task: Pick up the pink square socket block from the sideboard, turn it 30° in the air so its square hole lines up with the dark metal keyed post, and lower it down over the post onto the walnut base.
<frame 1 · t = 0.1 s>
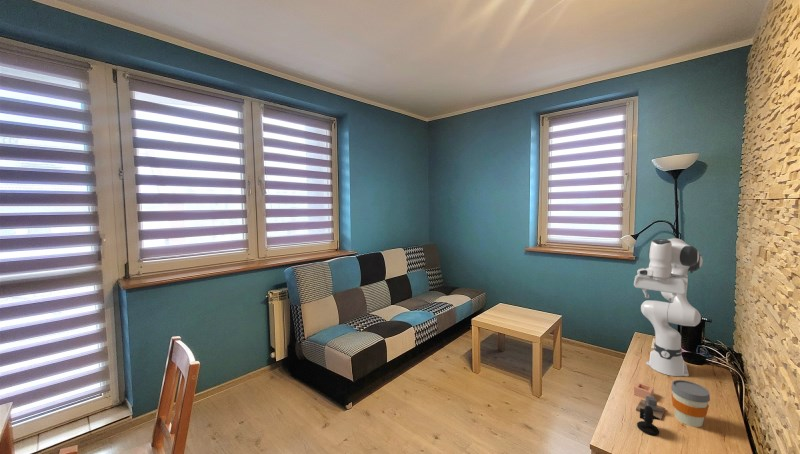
hand: (658, 299, 156), 48 cm above the sideboard, fingers open, 8 cm apart
webcam: (647, 429, 134), on the sideboard
pink square socket block: (643, 394, 158), on the sideboard
reusable coffee cup: (688, 420, 139), on the sideboard
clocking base: (650, 410, 146), on the sideboard
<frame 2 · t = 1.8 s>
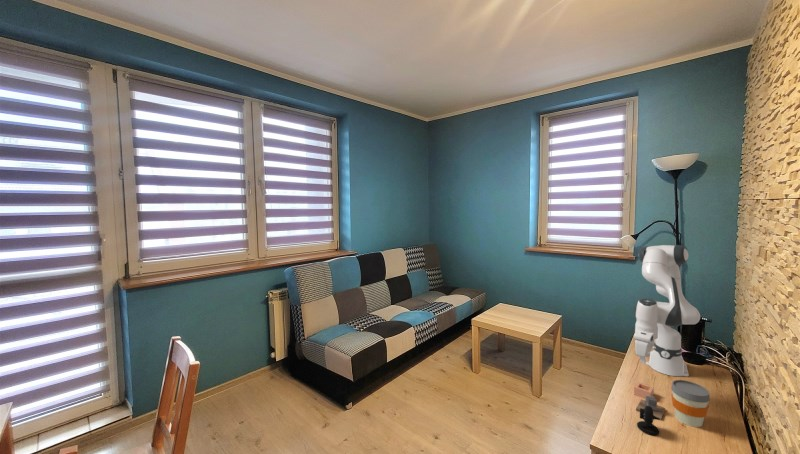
hand: (645, 359, 156), 18 cm above the sideboard, fingers open, 8 cm apart
nothing on the sideboard moved.
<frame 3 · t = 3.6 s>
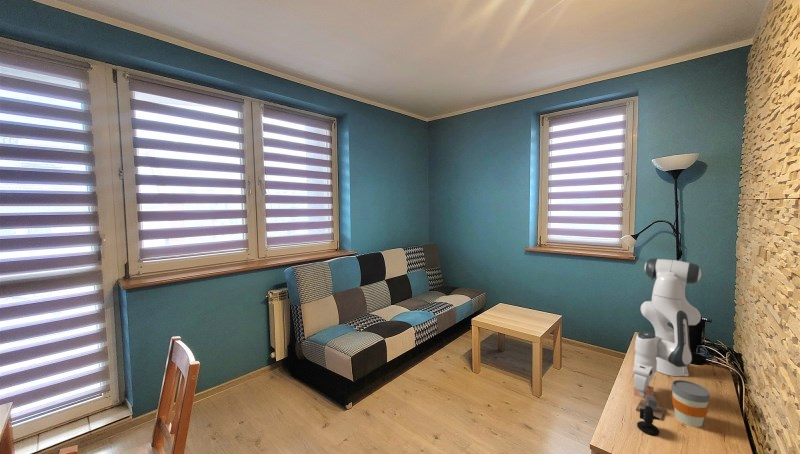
hand: (644, 391, 157), 2 cm above the sideboard, fingers closed on pink square socket block, 7 cm apart
pink square socket block: (643, 394, 158), on the sideboard, touching gripper
everything else where it was.
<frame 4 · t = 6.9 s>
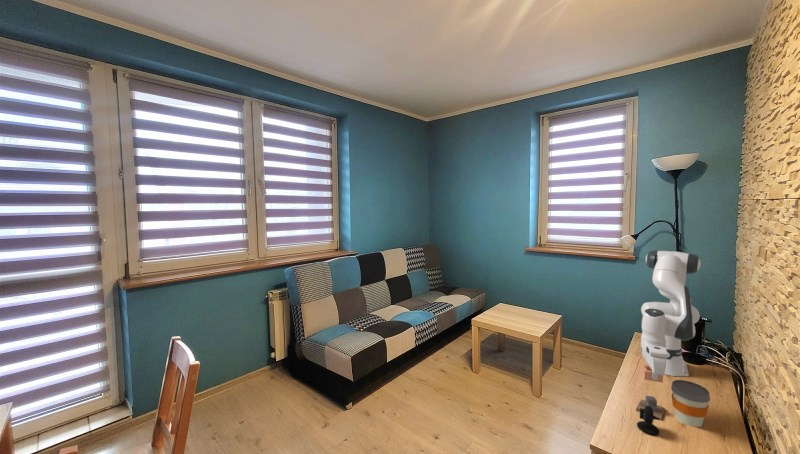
hand: (651, 374, 145), 17 cm above the sideboard, fingers closed on pink square socket block, 7 cm apart
pink square socket block: (651, 377, 145), point 16 cm above the sideboard, touching gripper
everything else where it was.
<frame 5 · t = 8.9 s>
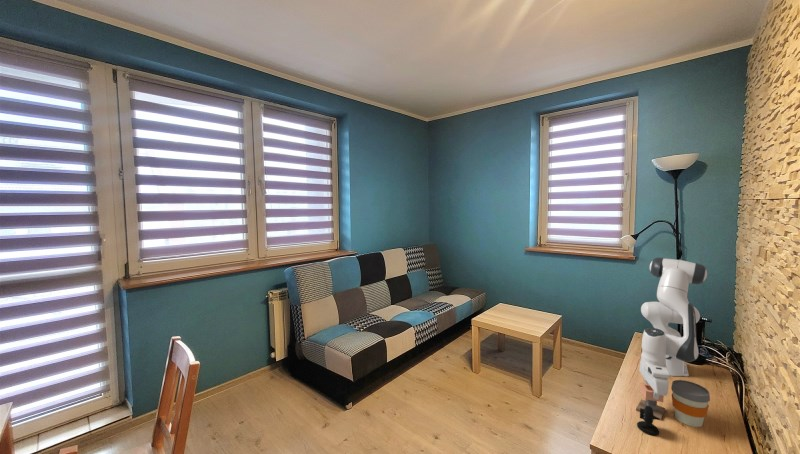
hand: (651, 393, 145), 8 cm above the sideboard, fingers closed on pink square socket block, 7 cm apart
pink square socket block: (651, 396, 145), point 7 cm above the sideboard, touching gripper
everything else where it was.
when the fingers open (4 cm above the sideboard, at t = 10.3 s): pink square socket block drops 1 cm, resting on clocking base.
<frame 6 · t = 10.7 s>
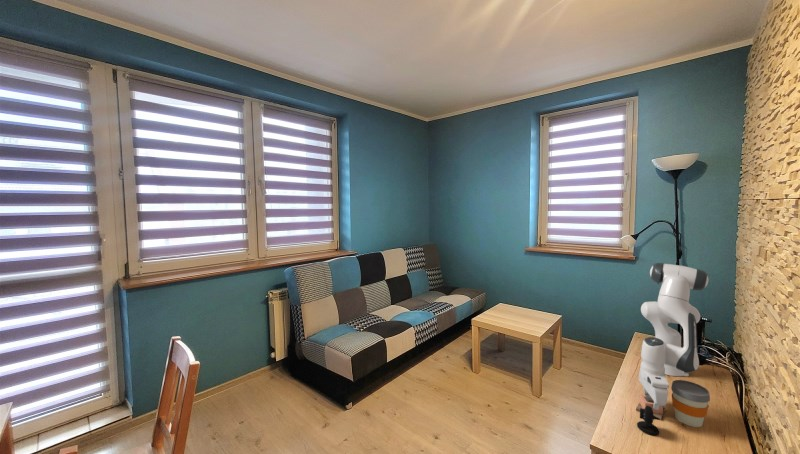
hand: (651, 402, 146), 4 cm above the sideboard, fingers open, 8 cm apart
pink square socket block: (650, 408, 146), point 1 cm above the sideboard, touching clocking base
everything else where it was.
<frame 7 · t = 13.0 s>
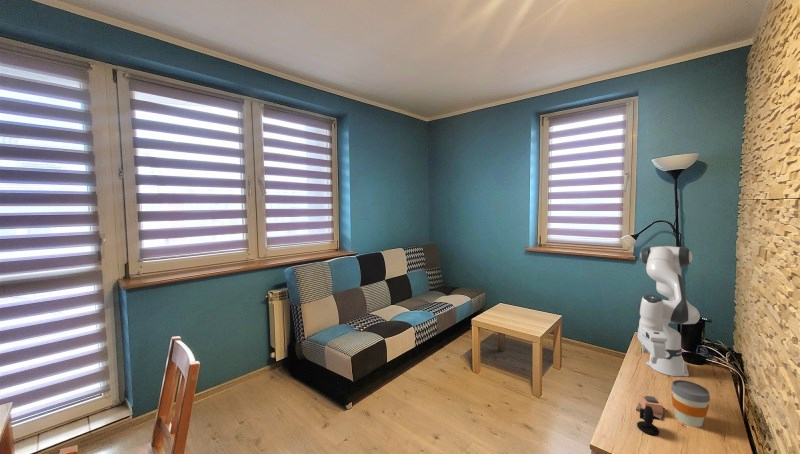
hand: (649, 357, 150), 23 cm above the sideboard, fingers open, 8 cm apart
nothing on the sideboard moved.
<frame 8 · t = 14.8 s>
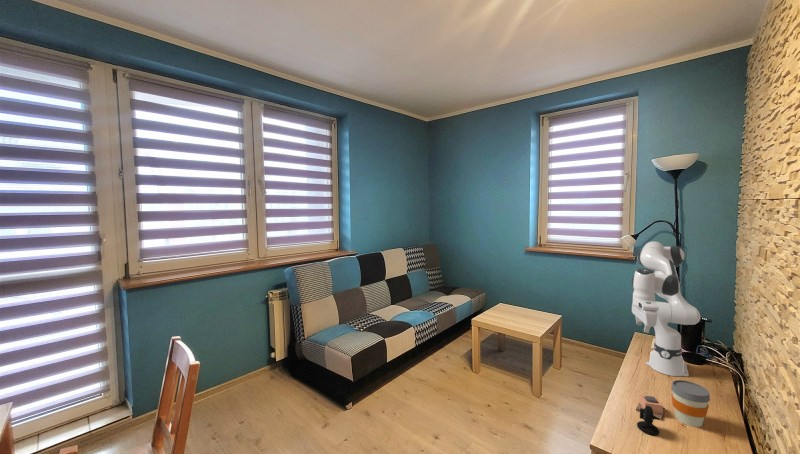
hand: (642, 328, 158), 33 cm above the sideboard, fingers open, 8 cm apart
nothing on the sideboard moved.
at the end: pink square socket block 0.1 cm off-centre on the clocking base, point 1.0 cm above the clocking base's base; the gripper is holding nothing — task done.
